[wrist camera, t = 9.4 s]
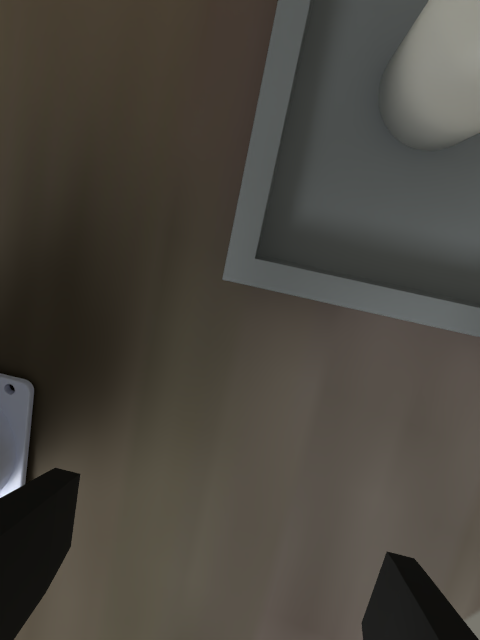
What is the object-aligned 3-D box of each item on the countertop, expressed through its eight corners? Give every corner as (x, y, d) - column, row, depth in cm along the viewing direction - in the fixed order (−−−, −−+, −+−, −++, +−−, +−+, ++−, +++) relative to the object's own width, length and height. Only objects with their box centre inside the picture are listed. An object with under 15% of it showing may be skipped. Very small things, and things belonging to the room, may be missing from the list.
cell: (365, 139, 15) (426, 74, 9) (396, 18, 14) (490, -151, 8) (472, 160, 15) (614, 110, 9) (511, 40, 14) (703, -117, 8)
